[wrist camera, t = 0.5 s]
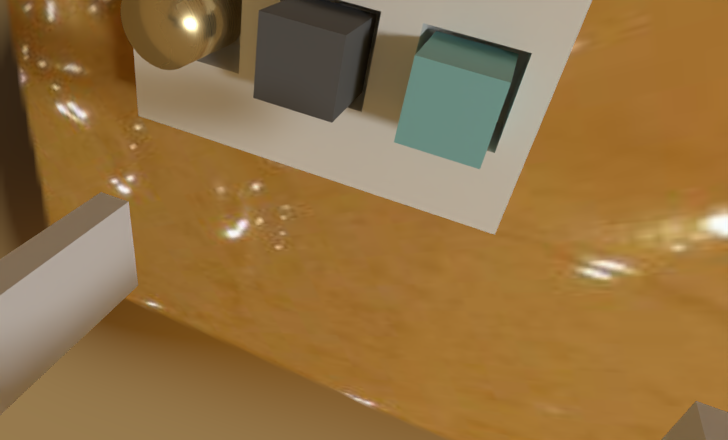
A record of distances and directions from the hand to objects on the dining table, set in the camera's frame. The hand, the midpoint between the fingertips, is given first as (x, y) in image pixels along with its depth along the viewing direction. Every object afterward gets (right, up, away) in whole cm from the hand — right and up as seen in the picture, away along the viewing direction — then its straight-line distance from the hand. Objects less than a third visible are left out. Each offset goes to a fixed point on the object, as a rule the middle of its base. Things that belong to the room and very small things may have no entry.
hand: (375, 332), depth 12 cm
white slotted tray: (-1, +14, +18) cm, 22 cm away
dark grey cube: (-2, +12, +15) cm, 19 cm away
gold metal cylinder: (-8, +14, +16) cm, 23 cm away
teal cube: (+5, +9, +14) cm, 17 cm away
